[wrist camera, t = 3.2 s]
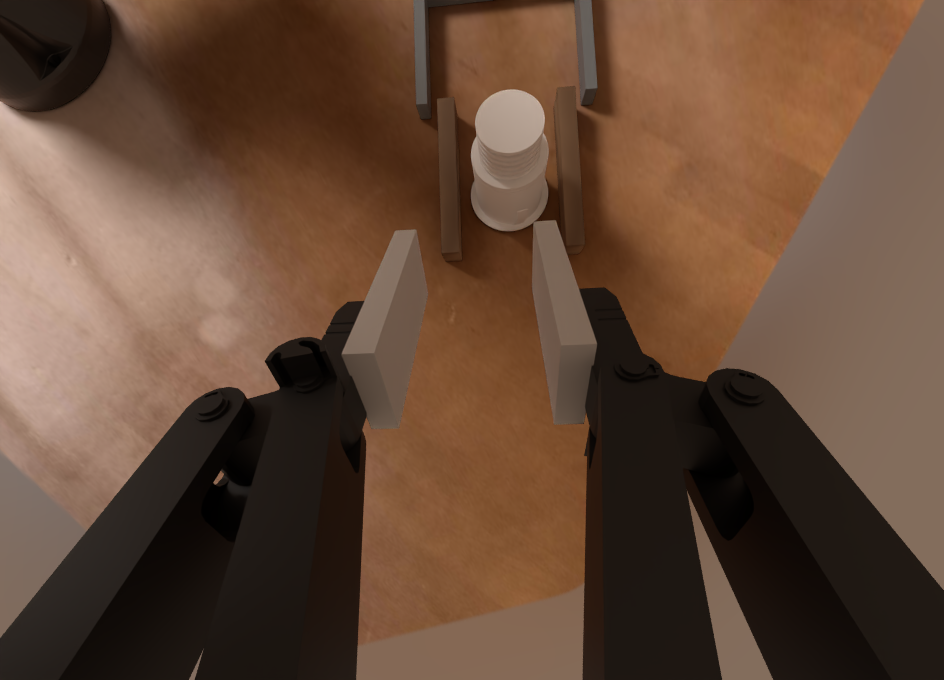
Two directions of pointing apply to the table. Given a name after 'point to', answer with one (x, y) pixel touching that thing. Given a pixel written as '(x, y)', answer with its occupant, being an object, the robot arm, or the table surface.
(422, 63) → the open frame
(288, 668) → the robot arm
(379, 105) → the table surface
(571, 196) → the slot
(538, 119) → the downlight
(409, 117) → the table surface
